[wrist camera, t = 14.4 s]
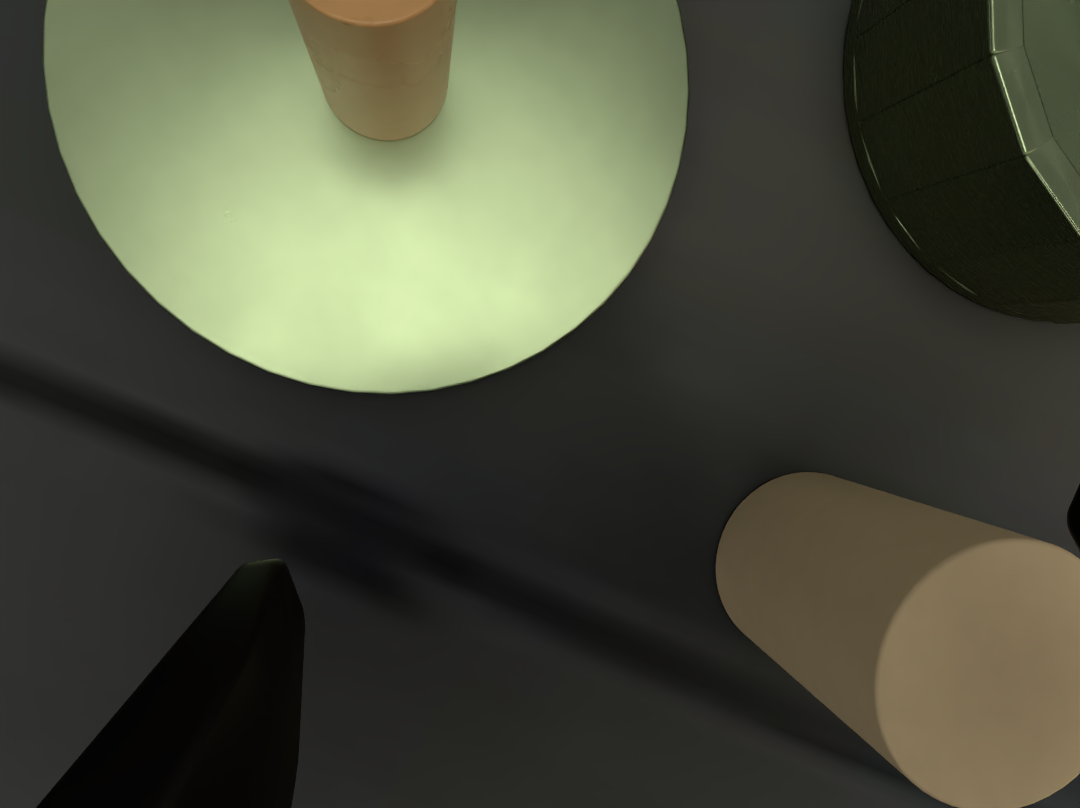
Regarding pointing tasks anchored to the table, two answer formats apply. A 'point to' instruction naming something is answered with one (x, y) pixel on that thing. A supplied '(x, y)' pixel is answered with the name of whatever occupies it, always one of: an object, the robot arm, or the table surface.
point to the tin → (974, 142)
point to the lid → (372, 170)
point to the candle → (916, 632)
